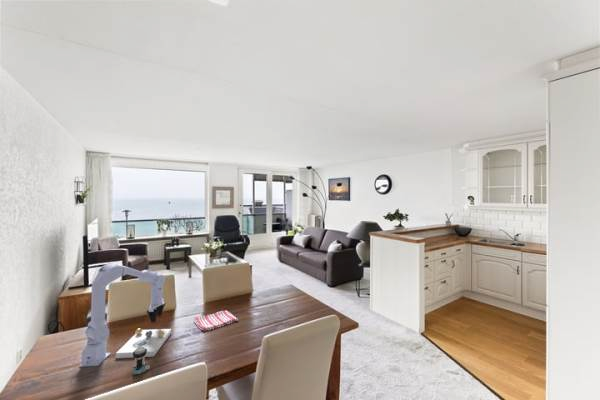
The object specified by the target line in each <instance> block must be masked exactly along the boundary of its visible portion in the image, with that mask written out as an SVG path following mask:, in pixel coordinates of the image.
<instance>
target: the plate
mask: <svg viewBox="0 0 600 400" xmlns="http://www.w3.org/2000/svg"><path fill="white" fill-rule="evenodd" d="M147 331H152V335H151V336H150V337H146V335H145V334H146V332H147ZM160 331H163V332H164V336H163V337H161V338H159V337H158V336H157V335H158V333H159V332H160ZM171 334H172V328H161V329H159V328H158V329H157V328H155V329H142V333H141V334H139V335H137V334H136V333H135V334H134V335H132V336H131V338H129V340H127V342H126V343H125V344H124V345H123V346H121V347H120V349H118V350H117V352H116V353H115V358H116V359H126V358H127V359H128V358H129V359H130V358H131V359H132V358H134V357H133V352H134V351H135V350H136V349H137V348H140V347H144V348H146V349H147V352H146V355H145V356H144V358H147V357H148V358H149V357H153V358H154V357H155V356H156V354H157V353H158V351H159V350H160V348H161V347H162V346H163V344H165V342H166V341H167V339H168V338H169V337H170V336H171Z"/></svg>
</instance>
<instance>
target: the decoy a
mask: <svg viewBox="0 0 600 400" xmlns="http://www.w3.org/2000/svg"><path fill="white" fill-rule="evenodd" d="M142 330H143V328H140V327H139V328H137V329H136V330H135V332H134V333H135V334H137V335H139V334H141V333H142Z"/></svg>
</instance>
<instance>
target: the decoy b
mask: <svg viewBox="0 0 600 400" xmlns="http://www.w3.org/2000/svg"><path fill="white" fill-rule="evenodd" d="M157 336H158V337H159V338H161V337H163V336H164V332H163V331H160V332H159V333H158V335H157Z"/></svg>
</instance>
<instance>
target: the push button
mask: <svg viewBox="0 0 600 400" xmlns="http://www.w3.org/2000/svg"><path fill="white" fill-rule="evenodd" d="M146 352H147V349H146V348H144V347H140V348H137V349H136V350H135V351H134V352H133V358H134V365H133V367H132V375H133V376H134V375H140V374H142V373H145V372H146V371H147V370H149V369H150V365H147V363H146V362H145V357H144V356H145V355H146Z"/></svg>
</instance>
